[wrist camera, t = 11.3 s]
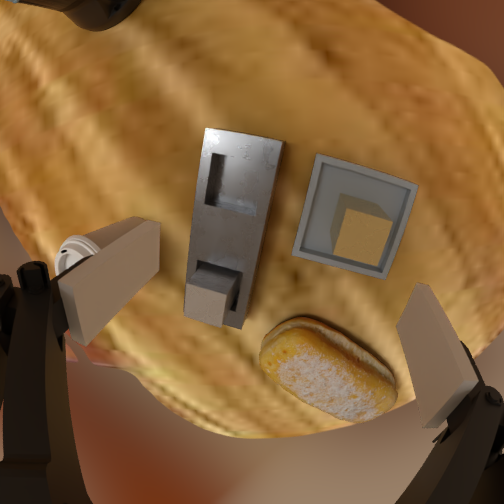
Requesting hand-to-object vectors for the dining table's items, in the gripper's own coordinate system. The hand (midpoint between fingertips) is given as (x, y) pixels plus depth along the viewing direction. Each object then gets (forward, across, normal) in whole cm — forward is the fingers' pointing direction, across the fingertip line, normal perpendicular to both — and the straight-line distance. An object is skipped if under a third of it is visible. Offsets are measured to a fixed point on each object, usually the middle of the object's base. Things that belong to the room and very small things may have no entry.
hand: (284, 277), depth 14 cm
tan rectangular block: (+23, +7, -2) cm, 25 cm away
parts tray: (+24, +7, -2) cm, 25 cm away
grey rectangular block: (+23, -8, -15) cm, 29 cm away
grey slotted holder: (+24, -8, -8) cm, 27 cm away
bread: (+24, +12, -27) cm, 38 cm away
